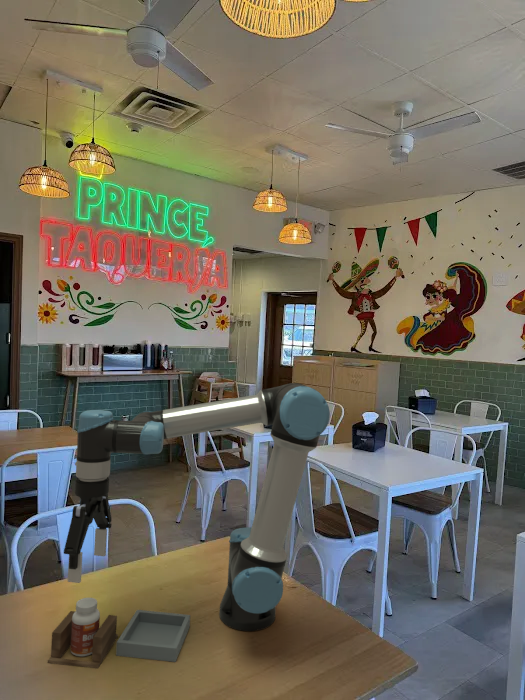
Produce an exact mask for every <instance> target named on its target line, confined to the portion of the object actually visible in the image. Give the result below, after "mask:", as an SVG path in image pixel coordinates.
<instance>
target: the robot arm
mask: <svg viewBox="0 0 525 700" xmlns="http://www.w3.org/2000/svg"><path fill="white" fill-rule="evenodd" d="M330 412H331V411H330V406H329V405H328V402H327V401H326V399H325V398H324V396H323V394H321V392H319V391H318V390H316V389H315V388H312V387H310V386H307V385H305V384H303V383H299V382H298V383H297V382H292V383H291V382H290V383H287V384H283V385H280V386H274V387H271V388H265V389H260V390H259V391H258V393H257V394H253V395H246V396H241V397H236V398H229V399H228V398H227V399H222V400H216V401H210V402H203V403H197V404H191V405H186V406H179V407H174V408H167V409H163V410H156V411H149V410H144V411H141V412H139V413H137V414H136V415H135V416H134V417H133V418H132V420H118V419H114V417H113V415H114V414H113V412H112V411H109V410H103V409H91V410H90V409H87V410H84V411H82V412H81V413H80V414H79V416H78V417H79V418H78V425H77V432H76V433H77V437H76V439H77V441H76V443H77V444H76V461H75V462H74V465H75V476H76V478H75V481H74V495H75V496H76V497H77V498H79V499H80V503H79V506H77V505H74V506H73V508H72V516H71V519H70V524H69V528H68V533H67V538H66V541H65V545H64V548H63V549H64V550H63V554H64V555H68V568H67V570H68V571H67V582H68V583H75V584H80V583H82V571H83V570H82V569H83V568H82V567H83V554H84V553H83V551H82V548H83V545H84V542H85V538H86V535H87V532H88V530H89V526H90V525H92V524H93V522H95V525H96V526H97V527H96V528H95V529H94V530H95V531H94V546H93V547H94V550H93V556H96V557H106V556H107V555H106V554H107V537H108V529H111V528H112V523H111V522H112V514H111V507H110V503H109V499H108V498H109V497H108V496H109V492H110V491H109V490H110V478H109V476H110V475H111V454H112V453H114V454H135V455H137V454H139V455H140V454H141V455H142V454H143V455H153V454H154V455H155V454H157V455H158V454H160V453H161V452H162V451H163V449H164V440H166V439H172V438H177V437H183V436H184V437H185V436H189V435H190V436H191V435H196V434H201V433H208V432H213V431H220V430H225V429H232V428H238V427H244V426H250V425H254V424H263V425H264V426H271V431H270V434H269V435H270V437H271V438H272V441H273V447H272V450H271V454H270V458H269V462H268V465H267V469H266V473H265V476H264V479H263V484H262V488H261V490H260V494H259V498H258V502H257V506H256V510H255V513H254V518H253V521H252V526H251V527H250V526H249V527H248V526H247V527H239V528H236V529H233V530H232V531H231V533H230V536H229V540H228V542H229V551H228V552H229V553H228V569H227V570H228V572H227V586H226V588H225V590H224V594H223V596H222V599H221V602H220V604H219V613H218V614H219V619H220V621H221V622H222V623H223V624H224V625H226V626H227V627H229V628H232V629H235V630H237V631H243V632H244V631H245V632H255V631H261V630H263V629H266V628H269V627H270V626H271V625H272V624H273V623H274V622H275V620H276V612H277V611H276V609H277V608H276V607H277V606H278V604H279V603H280V601H281V599H282V598H283V594H284V582H283V574H284V572H285V571H284V570H285V566H286V562H287V559H288V554H287V552H286V550H285V548H284V546H285V542H286V539H287V534H288V529H289V527H290V524H291V523H290V522H291V519H292V516H293V512H294V508H295V505H296V500H297V498H298V495H299V494H298V493H299V489H300V486H301V482H302V478H303V475H304V471H305V467H306V463H307V461H308V460H307V459H308V455H309V453H310V452H312V451H314V450H316V449H317V447H318V443H319V438H320V435H322V434H323V433H324V432H325V430H326V429H327V428H328V425H329V423H330V417H331V415H330Z"/></svg>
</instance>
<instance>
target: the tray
mask: <svg viewBox="0 0 525 700" xmlns="http://www.w3.org/2000/svg"><path fill="white" fill-rule="evenodd" d="M190 626H191V615H190V614H184V613H183V614H182V613H174V612H163V611H154V610H143V609H136V611H135V612H134V613H133V616H132V617H131V619H130V620H129V622H128V623H127V625H126V627H125V628H124V630H123V631H122V633H121V635H120V636H119V637H118V638H117V639H118V640H117V641H116V647H115V651H116V652H115V655H116V657H126V658H136V659H145V660H153V661H154V660H155V661H162V662H164V661H165V662H173V663H176V662H177V659H178V656H180V655H179V654H180V652H181V649H182V647H183V645H184V643H185V640H186V637H187V635H188V632H189V630H190Z"/></svg>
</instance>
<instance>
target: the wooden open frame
mask: <svg viewBox="0 0 525 700" xmlns="http://www.w3.org/2000/svg"><path fill="white" fill-rule="evenodd" d="M75 611H76V610H75ZM75 611H74V610H71V611H69V612H68V614H67V615H66V616H65V617H64V618H63V619H62V620H61V622H59V624H58V625H57V626H56V627H55V628H54V630H53V631H52V632H51V645H50V646H51V647H50V657H49V658H48V659H47V663H48V664H54V665H65V666H73V667H82V668H83V667H84V668H91V669H99V667H100V665H102V663H103V661H104V659H105V658H106V657H107V655H108V653H109V652H110V650H111V649H112V647H113V645H114V643H115V642H117V641H116V640H117V639H119V634H118V633H117V628H118V627H117V624H118V622H117V621H118V616H117V615H114V614H109V615H108V616H107V617H106V619H105V620H104V621H103V623H102V624H101V625H100V626H99V630H98V631H97V632H96V634H95V635H94V637H93V652H92V654H91V655H92V656H91V657H92V658H91V661H87V660H78V659H68V658H62V657H63V656H64V655H65V653H66V652H67V650H68V649H69V648H71V629H72V616H73V614H74V612H75Z"/></svg>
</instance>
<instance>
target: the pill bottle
mask: <svg viewBox="0 0 525 700" xmlns="http://www.w3.org/2000/svg"><path fill="white" fill-rule="evenodd" d="M100 614H101V613H100V610H99V608H98V599H96V598H94V597H83V598H81V599H79V600H77V601H76V605H75V612H74V614H73V616H72V629H71V645H70V653H71V654H72V655H74V656H76V657H88V656H91V655H92V652H93V637H94V635H95V634H96V632H97V631H98V630H99V628H100V621H101V620H100V619H101V615H100Z"/></svg>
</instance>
